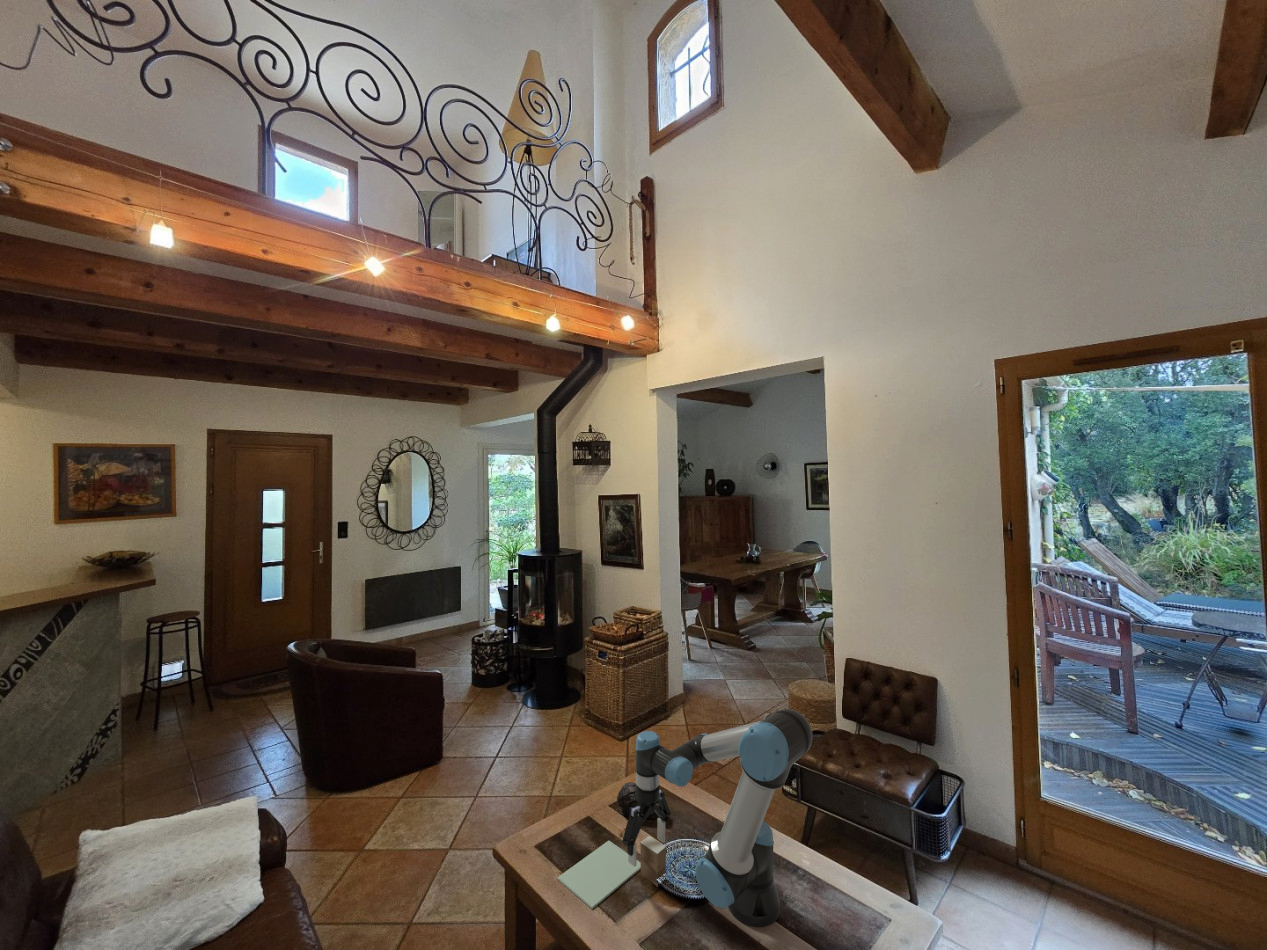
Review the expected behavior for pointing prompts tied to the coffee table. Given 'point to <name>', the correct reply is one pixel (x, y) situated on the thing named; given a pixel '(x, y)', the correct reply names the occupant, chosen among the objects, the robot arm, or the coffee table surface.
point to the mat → (599, 874)
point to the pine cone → (632, 801)
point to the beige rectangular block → (652, 859)
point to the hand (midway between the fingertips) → (647, 851)
